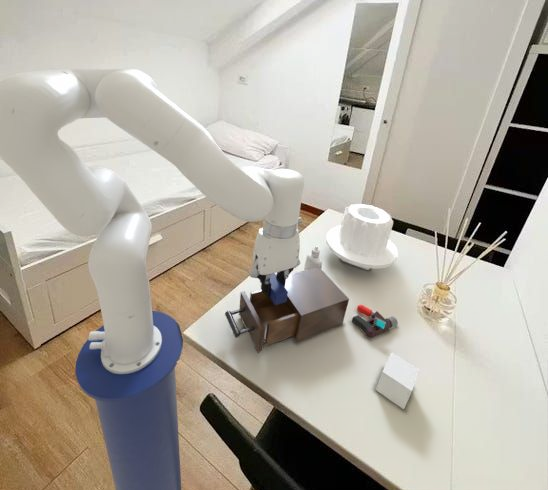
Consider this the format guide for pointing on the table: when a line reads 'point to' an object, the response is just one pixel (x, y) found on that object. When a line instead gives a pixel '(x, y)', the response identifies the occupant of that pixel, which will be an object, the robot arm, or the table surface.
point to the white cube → (397, 380)
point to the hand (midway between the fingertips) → (272, 290)
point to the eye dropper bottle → (313, 259)
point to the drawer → (264, 319)
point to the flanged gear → (363, 237)
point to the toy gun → (373, 322)
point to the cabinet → (315, 302)
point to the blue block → (277, 290)
